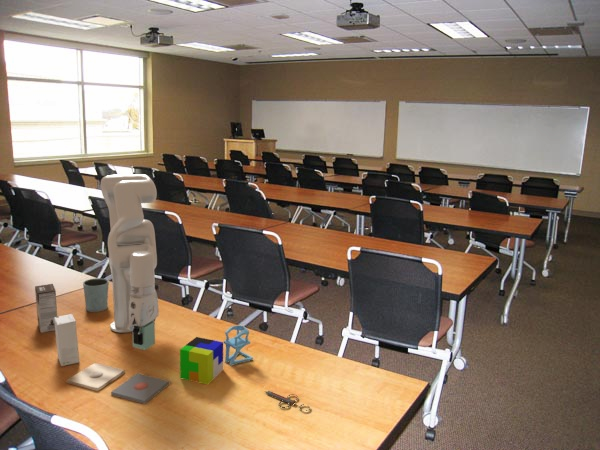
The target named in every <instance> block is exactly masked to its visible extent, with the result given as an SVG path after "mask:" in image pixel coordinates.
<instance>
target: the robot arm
mask: <svg viewBox="0 0 600 450" xmlns="http://www.w3.org/2000/svg"><path fill="white" fill-rule="evenodd" d="M100 190H101V193H102V197H103V199H104V202H105V203H106V205H107V209H108V212H109V214H108V215H109V224H110V232H109V233H108V236H107V249H108V264H109V268H110V272H111V278H112V279H111V280H112V297H113V316H114V317H113V318H114V319H113V322H112V323H110V325H109V327H110V330H111V331H113V332H115V333H120V334H122V333H124V334H126V333H127V334H128V333H133V334H132V338H133V337H134V344H138V345H142V344H143V334H142V333H141V331H142V326H144V325H146V324H148V323H149V322H151V321H154V322H156V319H157V318H158V317H159V312H160V311H159V310H160V309H159V299H158V294H157V291H156V290H157V289H156V287H155V283H156V282H155V280H156V279H155V269H156V268H157V265H158V255H157V245H156V243H157V242H156V233H155V231H156V230H155V227H154V224H153V223H152V221H151V220H149V219H145V216H144V212H143V206H142V204H152V203H155V201H156V200H157V196H158V195H157V194H158V193H157V192H158V191H157V188H156V184H155V183H154V181H153V180H152V178H151V177H150V176H149V175H147V174H144V173H143V174H142V173H139V174H137V173H135V174H133V173H132V174H131V173H130V174H121V173H119V174H110V175H105V176H103V177H102V178H101V179H100ZM136 326H139V327H138V329H137V328H136Z"/></svg>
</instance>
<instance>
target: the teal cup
mask: <svg viewBox="0 0 600 450" xmlns="http://www.w3.org/2000/svg"><path fill="white" fill-rule="evenodd" d="M109 283H110V281H109V280H108V279H107V278H101V277H100V278H89V279H86V280H85V281H83V282H82V285H83V292H84V303H85V310H86V311H87V312H90V313H91V312H92V313H98V312H104V311H105V310H107V309H108V299H109V298H108V297H109V285H110V284H109Z"/></svg>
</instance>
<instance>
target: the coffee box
mask: <svg viewBox="0 0 600 450" xmlns="http://www.w3.org/2000/svg"><path fill="white" fill-rule="evenodd" d="M34 292H35V303H36V304H35V305H36V317H37V325H38V328H39V331H40V334H42V333H47V332H52V331H53V332H54V331H55V322H54V317H58V307H57V292H56V288H55V286H54V284H53V283H49V284H48V283H47V284H42V285H36V286H34Z"/></svg>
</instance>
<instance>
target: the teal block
mask: <svg viewBox="0 0 600 450" xmlns="http://www.w3.org/2000/svg"><path fill="white" fill-rule="evenodd" d="M155 322H156V321H151V322H149V323H148V324H146V325H144V326H142V331H141V333H142V334H143V344H142V345H138V344H134V337H133V336H132V348H135V349H139V350H143V351H147V350H148V349H149V348H151V347H152V346H154V345H155V344H156V339H155V338H156V332H155V331H156V330H155V329H156V328H155V324H156V323H155ZM138 327H139V326H136V328H137V329H138ZM131 333H132V332H131ZM132 335H133V333H132Z"/></svg>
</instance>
